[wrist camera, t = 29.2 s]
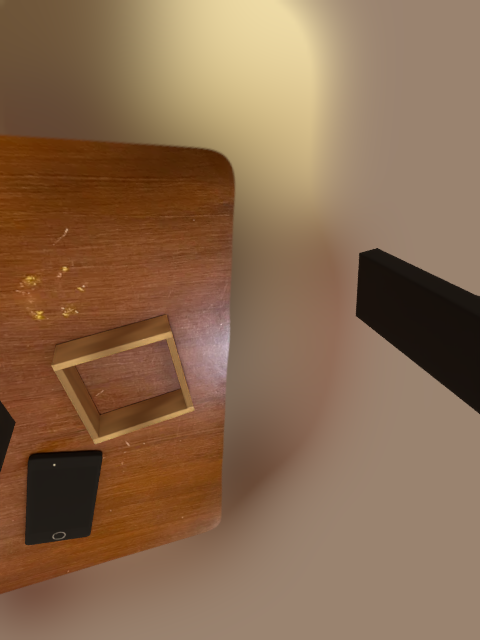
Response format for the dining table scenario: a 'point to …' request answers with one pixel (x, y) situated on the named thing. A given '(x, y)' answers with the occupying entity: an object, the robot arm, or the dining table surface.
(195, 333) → the dining table surface
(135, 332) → the wooden frame
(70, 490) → the cell phone
